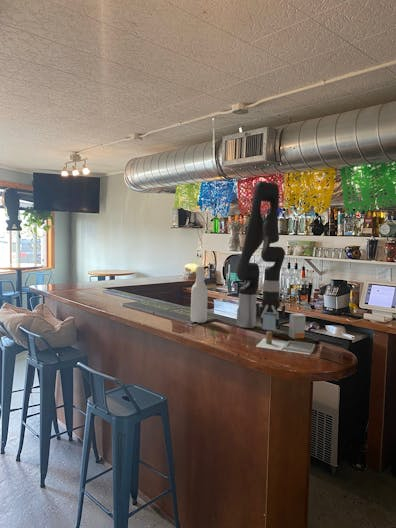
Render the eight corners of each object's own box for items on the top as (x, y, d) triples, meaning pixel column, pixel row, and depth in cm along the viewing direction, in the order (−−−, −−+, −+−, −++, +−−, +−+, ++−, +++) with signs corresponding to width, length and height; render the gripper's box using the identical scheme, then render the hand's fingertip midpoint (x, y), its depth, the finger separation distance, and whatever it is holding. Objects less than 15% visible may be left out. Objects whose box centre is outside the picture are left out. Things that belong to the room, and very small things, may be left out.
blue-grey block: (262, 329, 182) (263, 313, 182) (265, 326, 187) (265, 311, 187) (274, 330, 180) (275, 315, 179) (277, 327, 185) (277, 313, 185)
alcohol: (187, 321, 213) (189, 266, 211) (195, 318, 221) (197, 265, 218) (202, 324, 209) (204, 267, 207) (209, 320, 217) (211, 266, 214)
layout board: (255, 350, 165) (256, 334, 165) (263, 341, 179) (264, 327, 179) (311, 358, 157) (312, 342, 156) (315, 348, 170) (316, 333, 170)
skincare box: (292, 341, 180) (294, 315, 179) (288, 339, 185) (289, 313, 184) (304, 341, 182) (306, 315, 181) (299, 338, 186) (301, 313, 185)
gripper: (288, 290, 183) (287, 326, 184) (258, 287, 189) (256, 323, 190) (285, 292, 176) (284, 329, 177) (254, 289, 182) (252, 326, 183)
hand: (269, 326), depth 184 cm, fingers closed on blue-grey block, 5 cm apart
